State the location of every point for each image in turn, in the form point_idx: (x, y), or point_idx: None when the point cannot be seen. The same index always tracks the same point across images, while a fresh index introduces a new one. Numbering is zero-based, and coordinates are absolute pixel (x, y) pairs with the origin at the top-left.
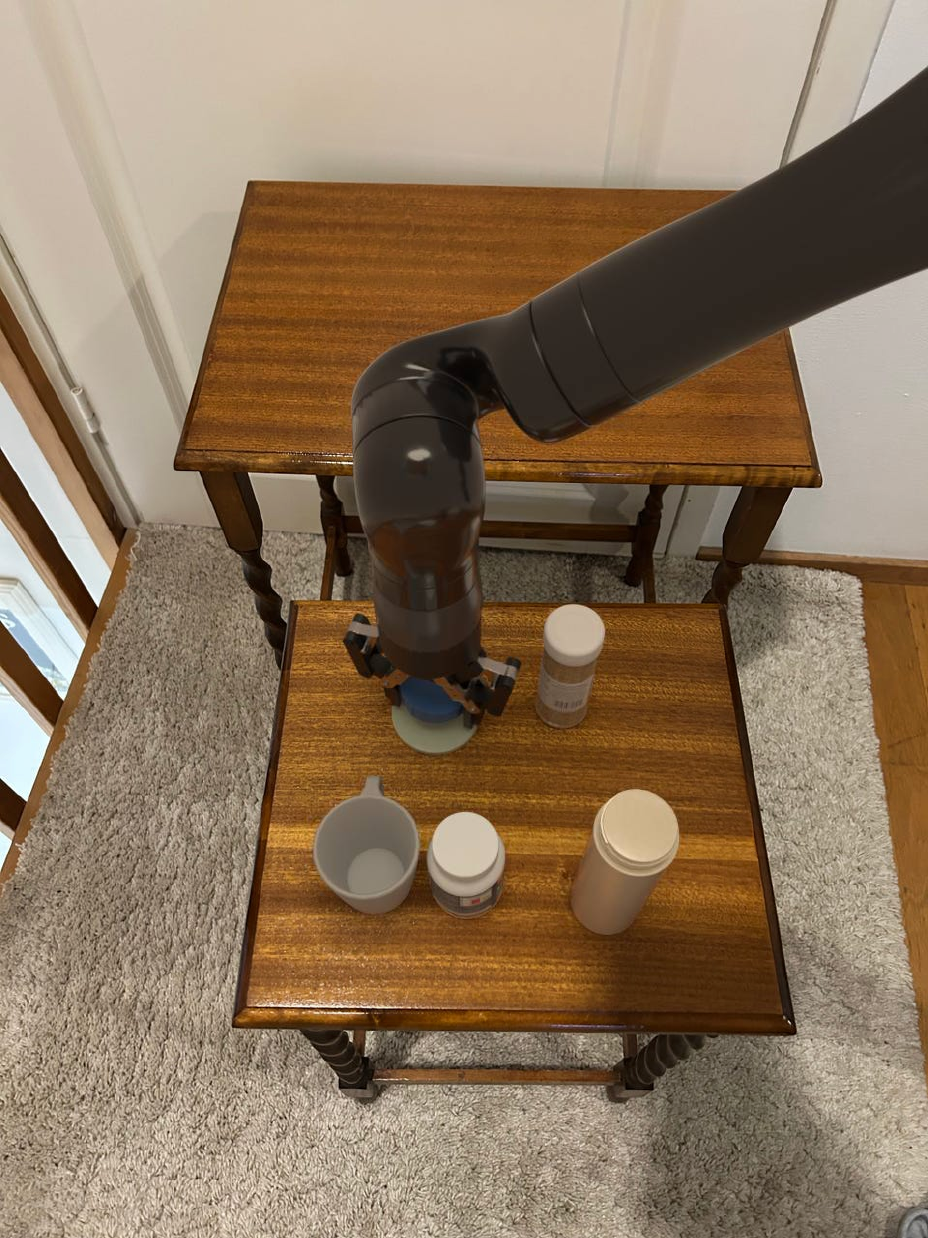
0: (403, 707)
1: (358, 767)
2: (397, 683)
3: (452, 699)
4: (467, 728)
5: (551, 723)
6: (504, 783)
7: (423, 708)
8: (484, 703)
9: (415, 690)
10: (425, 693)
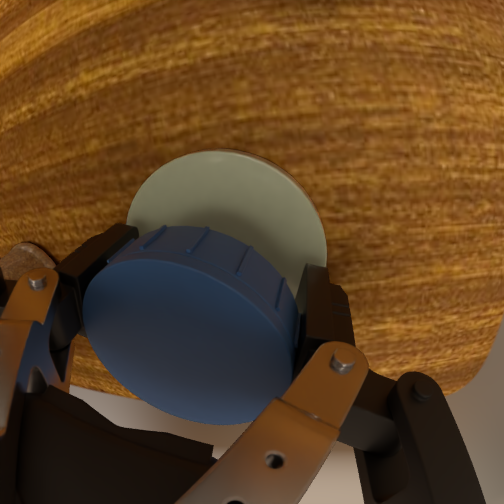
0: (298, 262)
1: (391, 99)
2: (279, 412)
3: (27, 331)
4: (141, 224)
5: (29, 250)
6: (63, 123)
7: (186, 277)
8: (5, 302)
9: (233, 338)
10: (196, 328)
